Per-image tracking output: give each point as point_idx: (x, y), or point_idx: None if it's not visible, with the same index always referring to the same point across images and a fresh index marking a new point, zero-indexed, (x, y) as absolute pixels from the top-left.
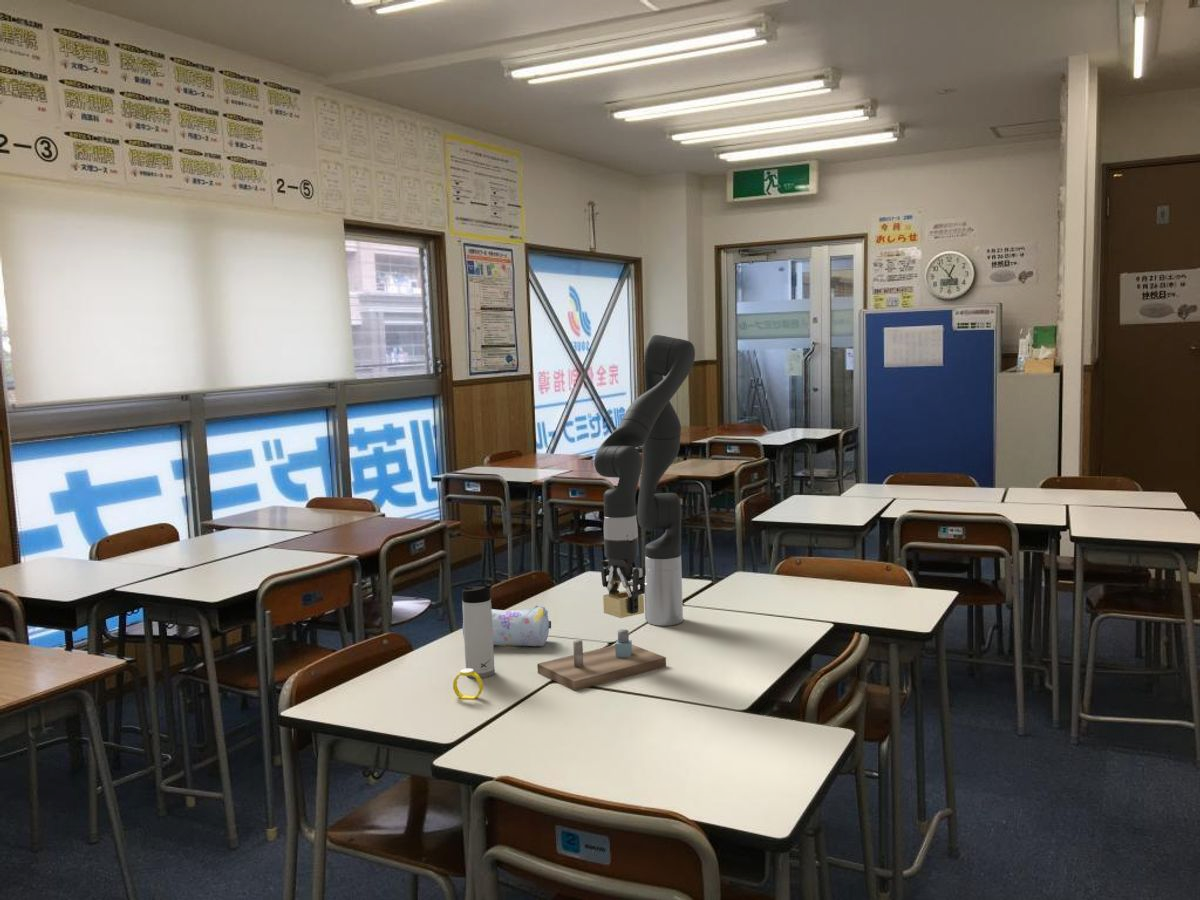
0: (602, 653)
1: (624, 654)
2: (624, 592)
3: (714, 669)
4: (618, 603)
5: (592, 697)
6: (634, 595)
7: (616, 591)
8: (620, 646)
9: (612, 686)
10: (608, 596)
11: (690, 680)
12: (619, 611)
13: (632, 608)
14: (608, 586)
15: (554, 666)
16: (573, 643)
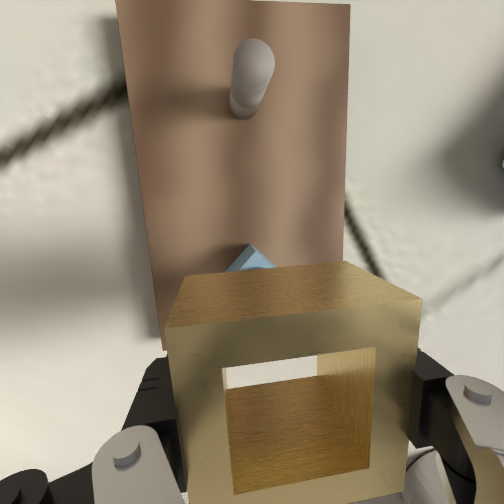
0: (301, 230)
1: (233, 264)
2: (370, 461)
3: (79, 414)
4: (197, 310)
5: (39, 28)
6: (18, 474)
7: (415, 424)
8: (242, 262)
9: (100, 137)
10: (354, 312)
11: (32, 331)
12: (192, 288)
13: (154, 370)
14: (497, 408)
15: (290, 36)
16: (256, 42)
